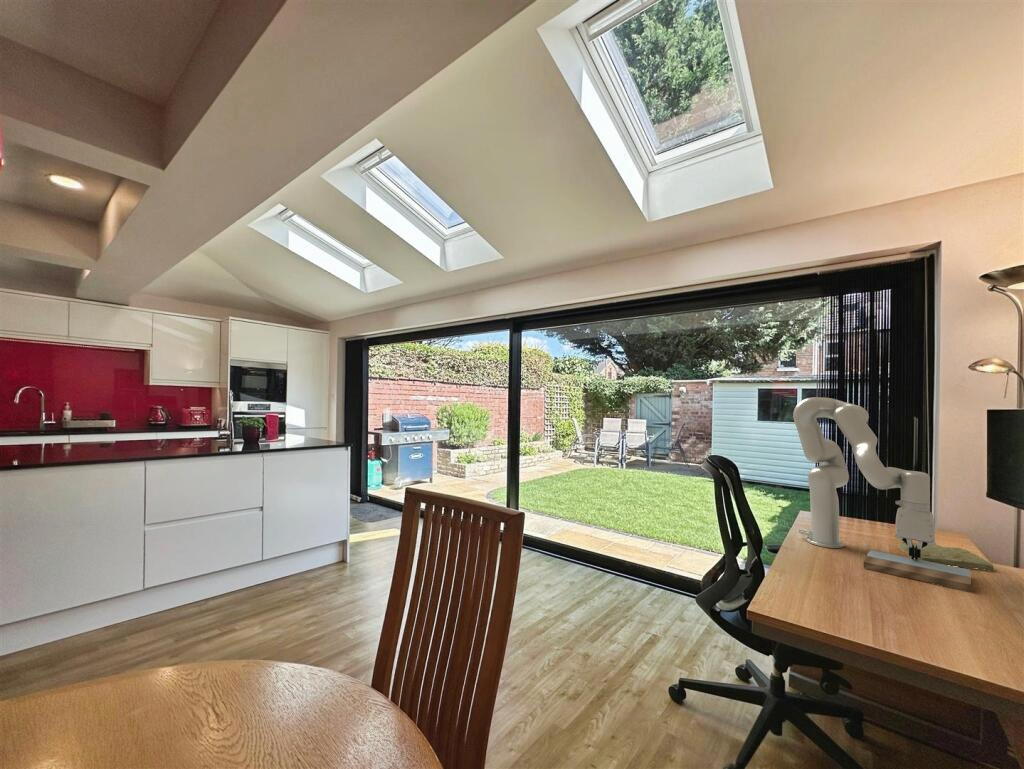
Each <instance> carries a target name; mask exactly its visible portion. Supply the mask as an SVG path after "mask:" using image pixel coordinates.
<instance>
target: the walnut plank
mask: <svg viewBox="0 0 1024 769" xmlns="http://www.w3.org/2000/svg"><path fill="white" fill-rule="evenodd" d="M864 568H867V569H866V570H869V569H871V570H870V571H873V570H875V571H874V572H878V571H880V572H879V573H882V572H884V573H883V574H887V573H888V574H887V575H891V574H892V576H896V577H900V576H901V577H902V578H905V577H906V579H909V578H911V579H910V580H914V579H916V580H915V581H918V580H921V581H920V582H923V581H926V582H925V583H927V582H930V583H929V584H932V583H934V584H933V585H936V584H939V585H938V586H941V585H942V587H945V586H946V588H950V589H955V590H959V591H964V592H968V593H972V578H971V577H966V576H961V575H956V574H951V573H947V572H942V571H937V570H932V569H927V568H922V567H917V566H913V565H908V564H903V563H898V562H893V561H888V560H884V559H879V558H874V557H869V556H867V555H866V556H865V559H864V560H863V569H864ZM901 577H900V578H901Z"/></svg>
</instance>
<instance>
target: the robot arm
mask: <svg viewBox="0 0 1024 769" xmlns="http://www.w3.org/2000/svg"><path fill="white" fill-rule="evenodd" d="M792 413H793V415H792V416H793V421H794V425H795V427H796V431H797V433H798V437H799V438H798V439H799V442H800V444H801V447H802V451H803V454H804V456H805V458H806V459H807V460H808V461H809V462H811V463H819V465H818V466H815V467H813V468H811V469H810V470H809V472H808V474H807V483H808V487H809V497H810V499H809V500H810V529H804V528H798V533H799V534H800V535H804V536H806V542H808V543H810V544H812V545H815V546H817V547H822V548H823V547H824V548H830V549H841V548H844V547H845V542H843V541H841V540H840V503H839V502H840V501H839V496H838V492H837V488H842V487H844V486H846V485H847V484H848V482H849V480H850V474H849V471H848V470H849V469H848V467H847V464H846V462H845V458H844V455H843V452H842V450H841V447H840V446H839V445H838V444H837V443H836V442H835V441H834V440H831V439H827V438H825V436H824V434H823V430H822V427H821V425H820V424H819V422H818V421H817V418H826V419H830V420H831V419H832V420H834V421H835V423H836V425H837V426H838V428H839V429H840V431H841V433H842V434H843V435H844V437H845V439H846V440H847V441H848V442H849V444H850V446H851V447H852V451H853V452H852V453H853V455H854V460H855V462H856V465H857V467H858V469H859V470H860V472H861V474H862V475H863V476H864V478H865V479H866V481H867V483H869V484H870V485H871V486H872V487H874V488H876V489H878V490H890V489H898V488H899V489H900V500H895V505H897V506H899V507H898V508H897V511H896V516H895V529H894V530H895V534H894V538H895V539H897V540H899V541H901V542H905V543H906V544H907V545H908V547H909V555H908V556H910V558H911V559H914V558H915V560H918V558H921V548H923V547H925V546H935V545H937V542H936V540H935V538H936V529H935V519H934V515H933V514H934V513H933V512H931V511H930V508H931V506H930V504H931V503H930V501H931V500H930V497H931V496H930V493H931V492H930V491H931V490H930V487H931V483H930V482H931V480H930V479H931V477H930V475H929V474H928V473H926V472H923V471H917V470H916V471H915V470H906V469H902V468H898V467H892V466H888V467H885V466H884V464H883V463H882V461H881V460H880V457H879V456H878V453H877V448H876V447H877V444H878V437H877V436H876V433H874V431H873V430H872V428H870V426H869V425H868V423H867V422H868V421H869V418H870V416H869V412H868V411H867V410H866V409H865V408H864V407H862V406H861V405H857V404H853V403H850V402H845V401H843V400H839V399H836V398H835V399H834V398H832V397H831V398H830V397H817V396H816V397H815V396H813V397H807V398H804V399H802V400H800V401H799V402H798V403H797V404H796V406H795V407H794V410H793V412H792ZM913 541H917V543H918V544H917V545H916V547H914V545H913V543H914V542H913Z"/></svg>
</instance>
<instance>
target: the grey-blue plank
mask: <svg viewBox="0 0 1024 769" xmlns="http://www.w3.org/2000/svg"><path fill="white" fill-rule="evenodd" d="M867 556H869V557H874V558H879V559H884V560H888V561H893V562H898V563H903V564H908V565H913V566H917V567H922V568H927V569H932V570H937V571H942V572H947V573H951V574H956V575H961V576H966V577H971V569H969V568H959V567H953V566H948V565H943V564H938V563H933V562H928V561H923V560H915V559H911V557H908V556H902V555H897V554H893V553H886V552H882V551H878V550H872V549H870V550H869V551H868V553H867V555H866V557H867Z"/></svg>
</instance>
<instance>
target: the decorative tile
mask: <svg viewBox="0 0 1024 769" xmlns="http://www.w3.org/2000/svg"><path fill="white" fill-rule="evenodd" d="M912 543H913V545H914V547H916V545H917V544H918V542H917V543H916V542H912ZM898 547H899V548H900V549H899V548H898ZM898 547H897V548H898V549H899V550H901V549H902V550H904V551H905V552H907V553H908V554H909V547H908V545H907V544H906V543H905V542H903V541H899V542H898ZM902 550H901V551H902ZM905 552H904V553H905ZM908 554H907V555H908ZM918 560H923V561H928V562H933V563H938V564H943V565H950V566H958V568H959V567H967V568H966V569H969V568H978V569H985V570H984V571H987V570H991V571H990V572H994V565H993V564H992V563H991V562H989V561H988V560H986V559H985V558H984V557H980V556H979V555H977V554H976V553H973V552H971V551H969V550H968V549H964V548H962V547H961V548H960V547H950V546H941V545H937V544H936V545H935V546H925V547H923V548H921V558H918ZM978 569H977V570H978Z"/></svg>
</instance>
